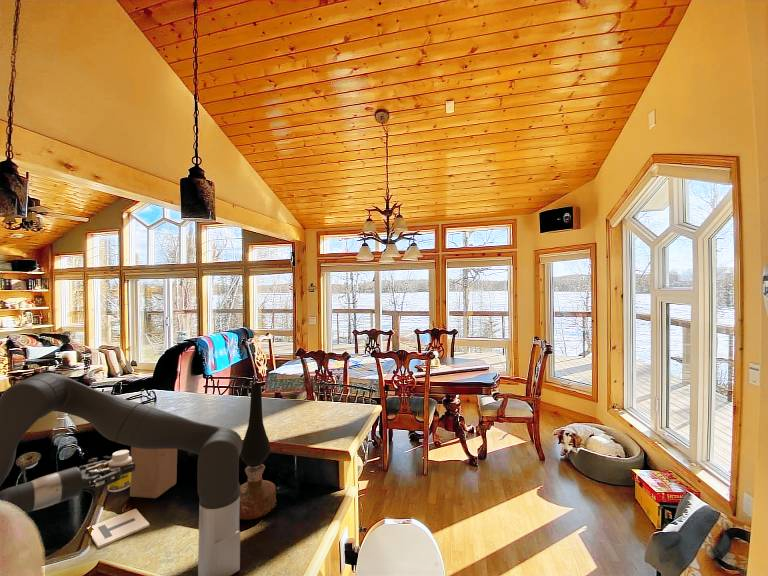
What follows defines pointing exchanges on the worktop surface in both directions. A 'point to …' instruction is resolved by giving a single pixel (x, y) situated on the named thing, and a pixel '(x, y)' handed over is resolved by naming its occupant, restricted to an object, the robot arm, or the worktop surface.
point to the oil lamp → (256, 464)
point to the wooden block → (152, 471)
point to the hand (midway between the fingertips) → (129, 463)
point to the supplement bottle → (118, 461)
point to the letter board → (117, 527)
